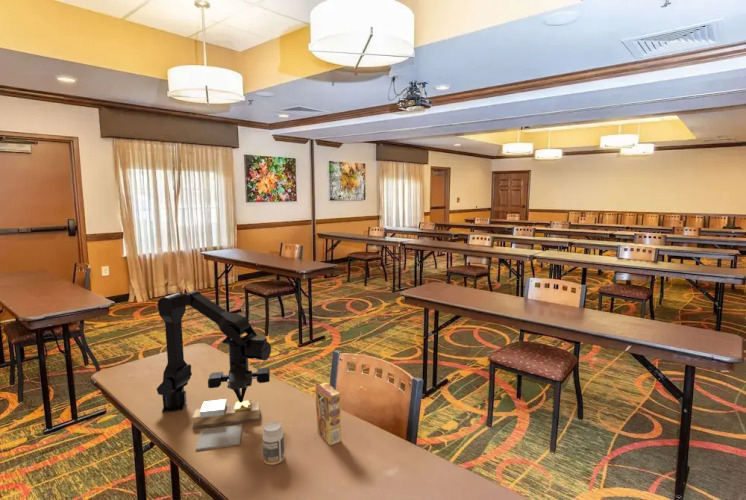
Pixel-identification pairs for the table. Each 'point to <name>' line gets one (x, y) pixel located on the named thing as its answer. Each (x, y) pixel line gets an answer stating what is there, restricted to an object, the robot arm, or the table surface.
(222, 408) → the cap plate
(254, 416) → the body
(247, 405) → the gold flat block
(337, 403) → the candy box
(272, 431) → the pill bottle
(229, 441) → the mat
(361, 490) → the table surface
